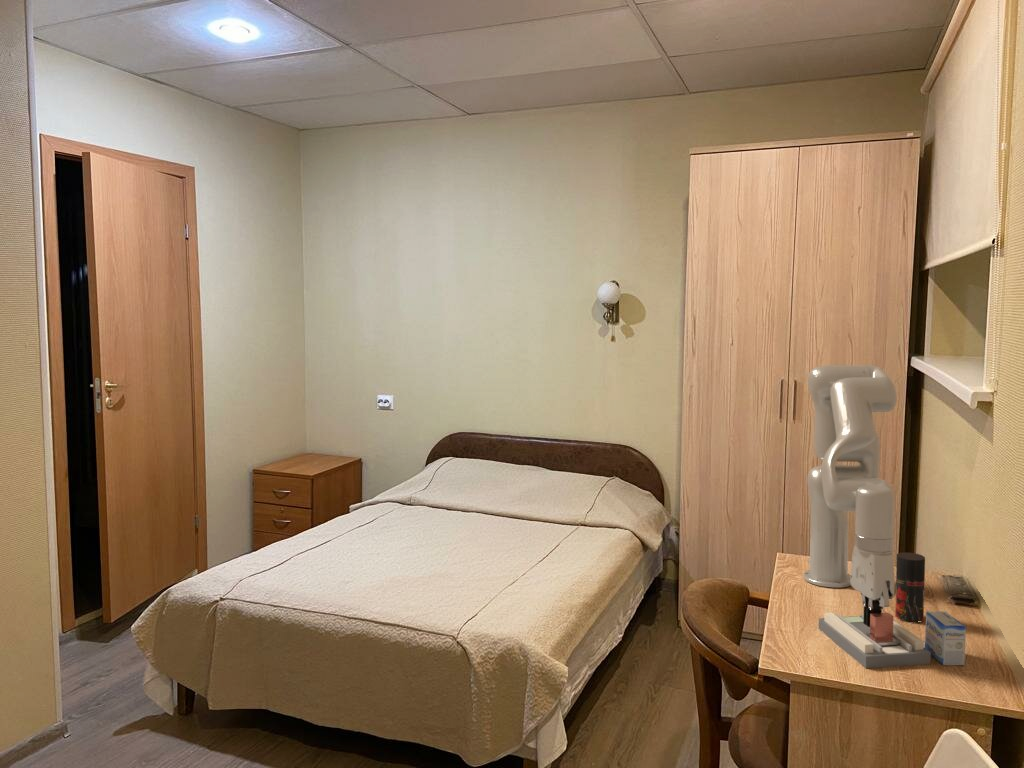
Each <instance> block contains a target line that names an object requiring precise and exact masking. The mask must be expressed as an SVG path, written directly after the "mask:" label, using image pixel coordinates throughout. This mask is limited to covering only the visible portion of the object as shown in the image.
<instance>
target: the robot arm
mask: <svg viewBox="0 0 1024 768" xmlns="http://www.w3.org/2000/svg"><path fill="white" fill-rule="evenodd" d="M807 378H808V379H807V385H808V391H809V394H810V397H811V400H812V403H813V408H814V434H813V435H814V439H813V442H814V446H813V447H814V452H815V453H814V454H815V455H816V457H817V458H818V459H819V460H821V461H822V463H821V465H818V466H817V465H816V466H813V467H812V468H811V469H810V470H809V471H808V473H807V478H806V479H807V483H806V484H807V490H808V494H809V495H808V497H809V509H810V510H809V511H810V517H809V518H810V523H809V527H810V528H809V533H810V534H809V558H808V560H807V563H809V569H808V570H806V571H804V572H803V579H804V580H805V581H806V582H808V583H810V584H812V585H816V586H819V587H825V588H848V587H850V586H851V587H852V588H853V589H854V590H856V591H858V592H859V594H861V600H862V602H861V603H862V606H863V612H864V618H863V623H864V624H865V625H867V626H868V627H870V614H873V613H883V612H882V610H883V609H884V608H888V607H890V605H891V604H890V600H892V599H893V598H894V596H895V588H896V579H895V565H894V558H893V553H894V535H895V533H894V530H895V529H894V528H895V493H894V491H893V488H892V486H891V485H890V484H889V482H888V481H887V480H885V479H884V478H880V457H881V456H880V455H881V450H880V449H881V444H880V437H879V434H878V432H877V431H876V429H875V422H874V418H873V413H889V412H892V411H893V410H894V409H895V407H896V405H897V401H898V400H897V399H898V397H897V391H896V388H895V387H896V386H895V384H894V382H893V380H892V379H891V378H890V376H889V375H888V374H887V373H886V372H885V371H884V370H883V369H882V368H881V367H879V366H877V365H869V364H867V365H865V364H864V365H863V364H862V365H861V364H860V365H858V364H857V365H856V364H855V365H854V364H853V365H851V364H850V365H848V364H847V365H846V364H845V365H844V364H843V365H842V364H840V365H837V364H836V365H835V364H834V365H822V366H821V365H820V366H816V367H814V368H812V369H811V370H810V371H809V374H808V377H807ZM837 462H841V463H842V462H850V463H851V462H852V463H854V462H855V463H858V465H843V464H836V463H837ZM846 512H855V525H854V526H855V528H854V529H855V531H854V546H853V550H852V554H851V564H850V573H848V571H849V570H848V568H849V517H848V514H847V513H846Z"/></svg>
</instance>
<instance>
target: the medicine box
mask: <svg viewBox="0 0 1024 768" xmlns="http://www.w3.org/2000/svg"><path fill="white" fill-rule="evenodd" d="M966 631H967V627H966V625H965V624H963V623H962V622H960V621H959V620H958V619H956V618H955V617H954V616H952V615H951V614H950V613H948V612H947V611H941V610H938V611H937V610H936V611H935V610H929V611H926V613H925V631H924V633H925V634H924V648H925V649H927V650H928V651H930V652H931V657H933V658H934V659H935V660H937V661H938V662H939V663H940V664H941V665H942V666H944V665H963V666H965V659H966V639H967V638H966V634H967V632H966Z"/></svg>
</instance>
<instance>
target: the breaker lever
mask: <svg viewBox="0 0 1024 768" xmlns="http://www.w3.org/2000/svg"><path fill="white" fill-rule="evenodd" d="M894 616H895V615H892V614H891V613H889V612H882V613H873V614H870V633H864V634H865V635H866V636H868V637H869V638H870V639H872V640H873V641H874V642H876V643H877V644H878V645H880V646H884V645H899V641H898V640H896V639H895V638H893V621H894Z"/></svg>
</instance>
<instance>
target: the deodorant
mask: <svg viewBox="0 0 1024 768" xmlns="http://www.w3.org/2000/svg"><path fill="white" fill-rule="evenodd" d="M895 568H896V569H895V570H896V574H895V607H894V608H895V609H894V610H895V611H894V612H895V613H894V616H895V618H896V617H897V618H898V619H897V618H896V619H897V620H899V619H900V620H899V621H902V622H905V621H906V622H905V623H910V622H918V621H922V620H923V621H924V617H925V615H924V612H925V610H924V609H925V604H924V603H925V578H926V577H925V574H926V572H925V571H926V557H925V556H924V555H922V554H920V553H914V552H908V551H907V552H898V553H897V554H896V567H895ZM923 621H922V622H923Z"/></svg>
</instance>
